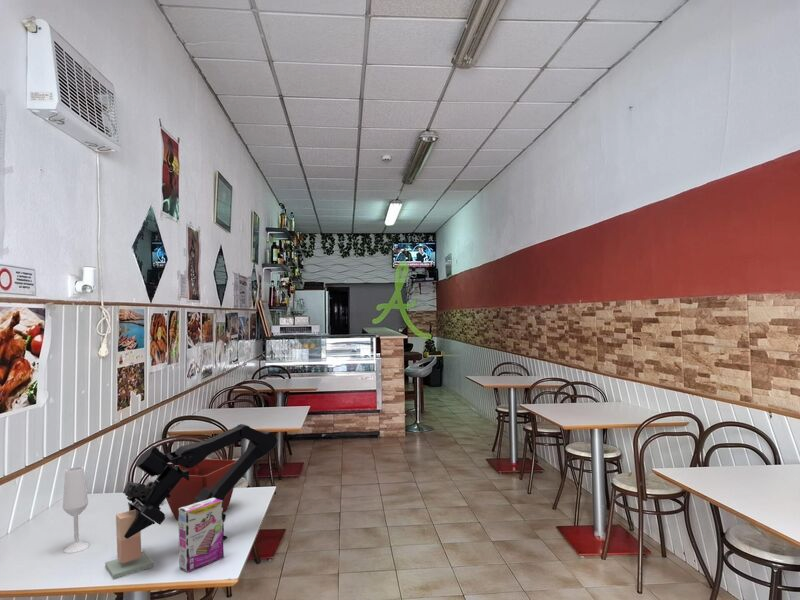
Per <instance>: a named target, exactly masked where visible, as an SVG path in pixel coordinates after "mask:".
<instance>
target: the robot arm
mask: <svg viewBox="0 0 800 600" xmlns="http://www.w3.org/2000/svg"><path fill="white" fill-rule="evenodd" d="M244 439H245V440H247V441H249V442H248V444H247V447H246V450H244V453H242V454H241V456H239V458H238V459H236V460H237V461H236V462H235V464H234V465H233V466H232V467H231V468H230V469H229V470H228V471H227V473H226V474H225V475H224V476H223V477H222V478H221V479H220V480H219V481H218V483H217V484H216V485H215V486H214V487H212V488H211V489H209V490H208V489H206V488H203V489H202V491H201V492H200V493H199V495H197V496H196V497H194V498H195V500H194V502H193V504H194V503H197V502H201V501H204V500H207V499H210V498H217V499H220V500H222V501H224V499H225V496H226V495H227V494H228V493H229V492H230V490H231V489H232V488H233V487H234V488H235V486H236V485H237V484H238V482H239V481H240V480H241V479H242V478H243V477H244V476H245V474H246V473H247V472H248V471H249V470H250V469H251V467H252V466H253V465H254V464H255V463H256V462H257V461H258V460H259V459H261V458H263V457H265V456H267V455H268V454H269V453H270V452H271V451H273V450H274V449H275V447H276V446H277V444H278V443H277V436H276V434H274V433H272V432H269V431H266V430H263V429H262V430H257V429H254V428H252V427H250V426H249V425H247V424H243V423H240V424H238V425H237V426H235V427H233V428H230V429H227V430H225V431H223V432H221V433H219V434H217V435H215V436H212V437H210V438H207V439H205V440H203V441H198V442H193V443H188V444H185V445H181V446H179V447H177V449H176V450H175V451H171V452H169V453H165V454H164V453H163V452H162V451H161V450H159V448H157V447H156V446H155V445H152V446H151V447H150V448H149V449H147V450H146V451H145V452H143V453H141V454H140V456H139V457H138V458H137V460H136V462H135V466H136V468H139V469H140V470H141V471H143V472H144V473H145V474H147V475H149V476H150V478H151V477H157V478H156V480H155V481H154V482H149V483H148V484H147V483H146V484H147V485H146V484H145V483H140V482H134V481H127V482H126V483H125V484H126V485H125V487H124V489H123V491H122V494H124V495H125V496H126V499H127V500H128V502H127V505H128V511H131V510H136V518H135V520H134V521H133V523H132V524H131V526H130V528H129V529H128V531H127V532H126V534H125V536H124V537H125V538H127V539H128V538H130V537H131V536H133V535H135V534H136V533H138V532H140V531H143V530H145V529H147V528H149V527H150V526H152V525H155V524H157V525H159V526H161V524H162V523H163V522H164V521H165V519H166V517H165V516H166V515H165V512H163V511H162V510H161V509H162V508H161V507H160V506H161V505H162V504H163V503H164V501H165V500H167V499H166V497H167V498H169V497H170V496H171V495H170V492H171V490H173V489H174V487H175V486H176V485H177V484H178V482H179V481H180V480H181V478H182V477H183V478H184V479H186V480H187V481H189V479H190V478H189V471H188V470H182V469H181V468H179V467H178V465H181V466H182V467H185V468H192V467H194V466H196V465H197V464H198V463H200V462H201V461H203V460H204V459H207V457H208V456H210V455H211V454H213V453H215V452H217V451H220V450H222V449H224V448H225V447H229V446H230V445H232V444H235V443H237V442H240V441H241V440H244ZM169 463H170V464H172V465H174V466H171V465H170V464H169ZM158 481H159V482H158ZM226 517H227V514H225V513H224V512H223V541H224V540H226V539H228V535H225V532H224V531H225V530H224V522H225V520H226Z"/></svg>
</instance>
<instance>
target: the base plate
mask: <svg viewBox="0 0 800 600" xmlns="http://www.w3.org/2000/svg"><path fill="white" fill-rule="evenodd" d="M104 564H105V569H106V570H107V572H108V573H109V575H110V577H111V578H112V579H113V580H115V579H119V578H122V577H125V576H129V575H132V574H135V573H137V572H138V573H139V572H141V571H144V570H148V569H150V568H154V567H155V566H154V561H153V560H152V559H151V557H150V556H149V555H148V554H147V553H146V552H145V551H141V558H138V559H135V560H131V561H128V562H125V563H121V562H120V560H119V559H118V558H115V559H113V560H109V561H106V562H104Z"/></svg>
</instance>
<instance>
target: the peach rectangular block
mask: <svg viewBox="0 0 800 600" xmlns="http://www.w3.org/2000/svg"><path fill="white" fill-rule="evenodd" d="M135 518H136V510H131V511H129V510H128V511H123V512H120V513H116V514H115V525H116V526H115V527H116V553H117V557H116V559H119V560H120V562H121V563H125V562H128V561H131V560H135V559H138V558H141V552H142V537H141V536H142V534H141V533H142V532H141V531H142V530H141V531H140V532H138V533H136V534H135V535H133V536H131V537H130V538H128V539H127V538H125V537H124V536H125V534H126V532H127V531H128V529H129V528H130V526H131V524H132V523H133V521H134V520H135Z"/></svg>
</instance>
